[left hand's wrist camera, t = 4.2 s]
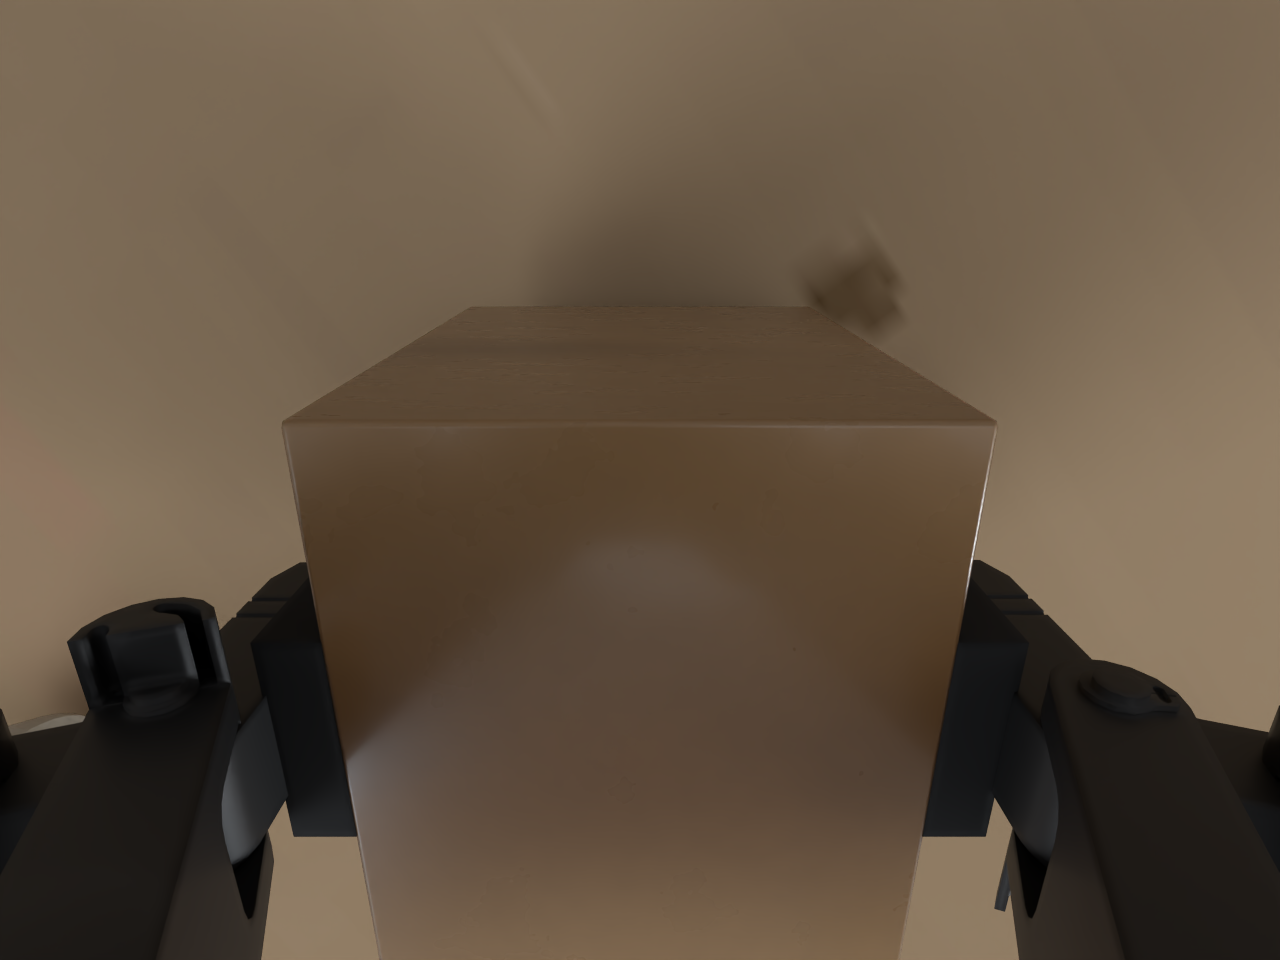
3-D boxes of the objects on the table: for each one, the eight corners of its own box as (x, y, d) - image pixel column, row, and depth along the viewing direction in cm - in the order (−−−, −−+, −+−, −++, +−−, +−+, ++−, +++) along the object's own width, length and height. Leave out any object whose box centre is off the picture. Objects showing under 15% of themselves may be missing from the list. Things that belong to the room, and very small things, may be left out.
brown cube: (783, 634, 17) (898, 978, 9) (495, 634, 17) (381, 978, 9) (810, 306, 14) (1003, 421, 7) (468, 306, 14) (277, 421, 7)
